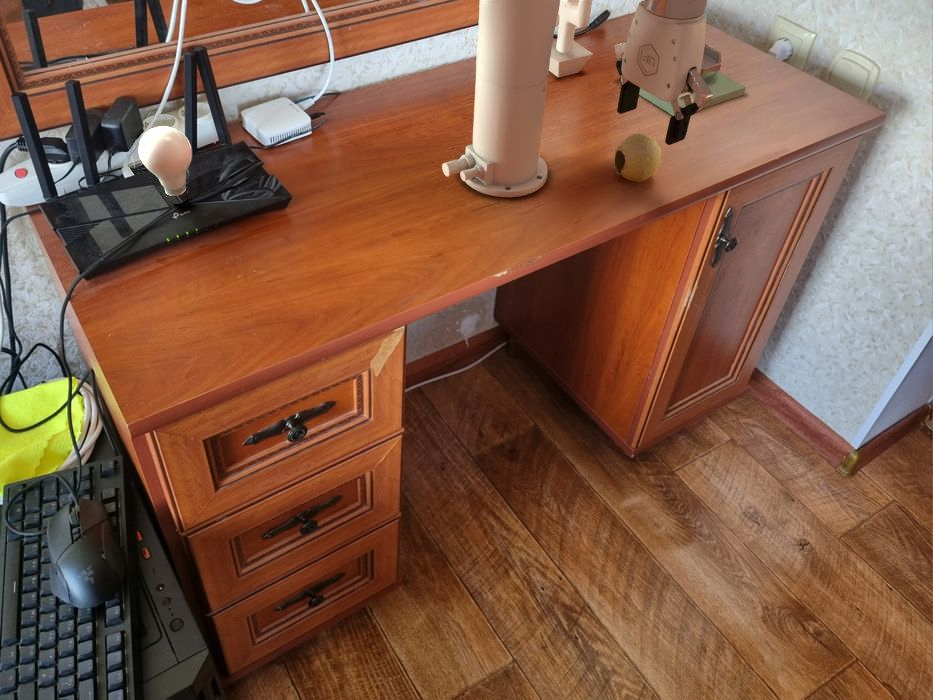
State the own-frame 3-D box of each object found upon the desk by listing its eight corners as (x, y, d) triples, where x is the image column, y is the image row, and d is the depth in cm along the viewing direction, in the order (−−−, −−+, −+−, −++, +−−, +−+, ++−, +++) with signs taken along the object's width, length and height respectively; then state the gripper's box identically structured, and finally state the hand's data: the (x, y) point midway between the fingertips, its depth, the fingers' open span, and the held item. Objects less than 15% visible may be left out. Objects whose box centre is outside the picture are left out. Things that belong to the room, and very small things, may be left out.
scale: (675, 117, 127) (680, 100, 125) (619, 82, 135) (622, 65, 133) (743, 94, 134) (748, 78, 132) (685, 61, 142) (689, 45, 140)
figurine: (562, 54, 142) (574, -32, 131) (594, 76, 136) (608, -12, 126) (529, 62, 139) (538, -26, 128) (559, 85, 134) (571, -5, 123)
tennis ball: (647, 164, 117) (657, 124, 112) (663, 189, 112) (673, 148, 108) (606, 167, 116) (614, 126, 111) (620, 192, 112) (629, 151, 107)
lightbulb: (145, 201, 105) (123, 127, 98) (188, 184, 109) (169, 111, 101) (170, 222, 102) (149, 148, 95) (212, 204, 106) (196, 131, 98)
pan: (688, 83, 130) (690, 72, 128) (646, 58, 135) (648, 48, 134) (730, 69, 134) (733, 59, 132) (688, 46, 140) (690, 36, 138)
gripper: (606, -18, 100) (588, 106, 112) (705, 32, 90) (674, 162, 102) (650, -29, 103) (628, 93, 115) (750, 18, 93) (715, 146, 105)
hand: (649, 125), depth 108 cm, fingers open, 9 cm apart
